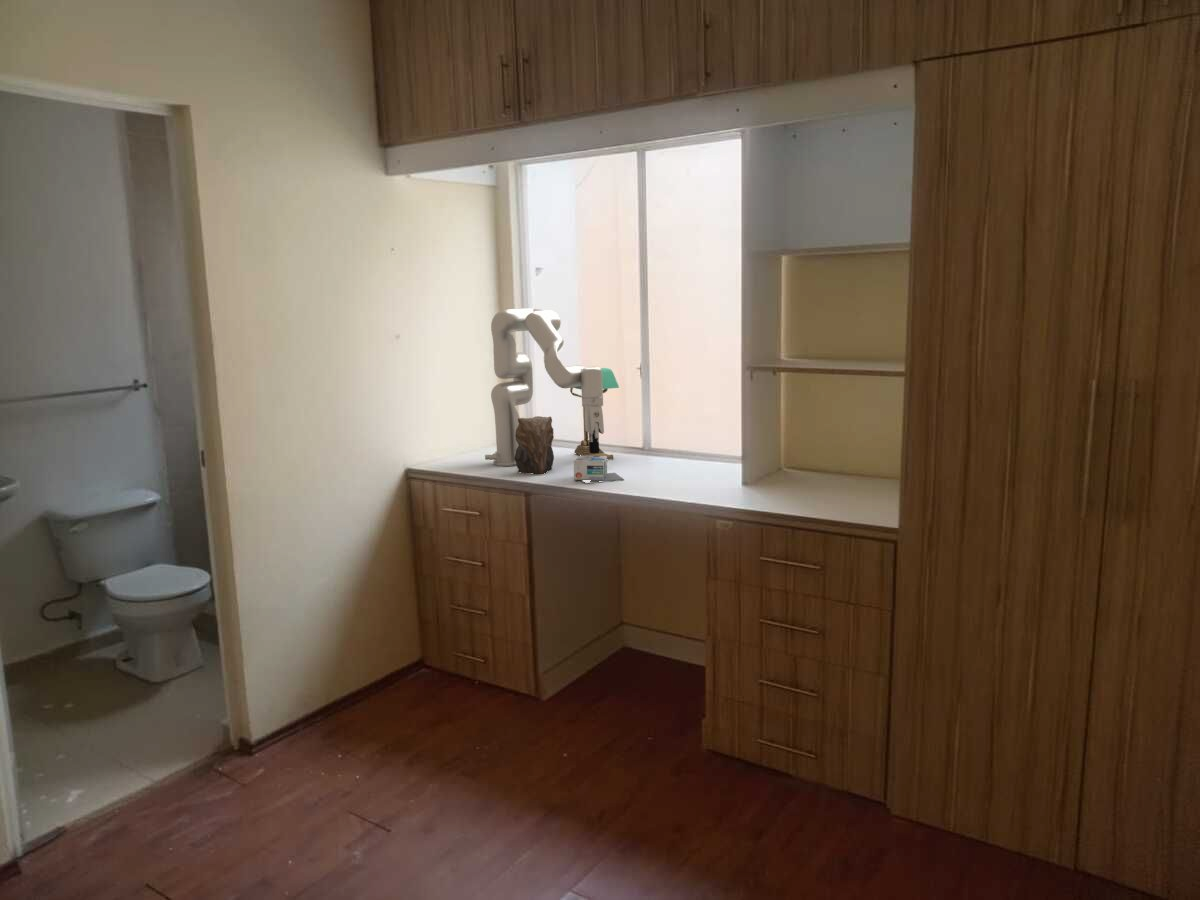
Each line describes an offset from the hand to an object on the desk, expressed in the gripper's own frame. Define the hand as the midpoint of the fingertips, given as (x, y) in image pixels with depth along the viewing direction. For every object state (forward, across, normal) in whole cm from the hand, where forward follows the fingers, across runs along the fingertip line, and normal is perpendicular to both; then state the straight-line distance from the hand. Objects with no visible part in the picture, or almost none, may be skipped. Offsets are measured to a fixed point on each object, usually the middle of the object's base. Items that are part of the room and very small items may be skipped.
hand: (594, 452), depth 311 cm
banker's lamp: (+8, +34, -8) cm, 35 cm away
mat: (+8, -8, 0) cm, 11 cm away
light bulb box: (+4, 0, +1) cm, 4 cm away
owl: (+8, +14, +19) cm, 25 cm away
